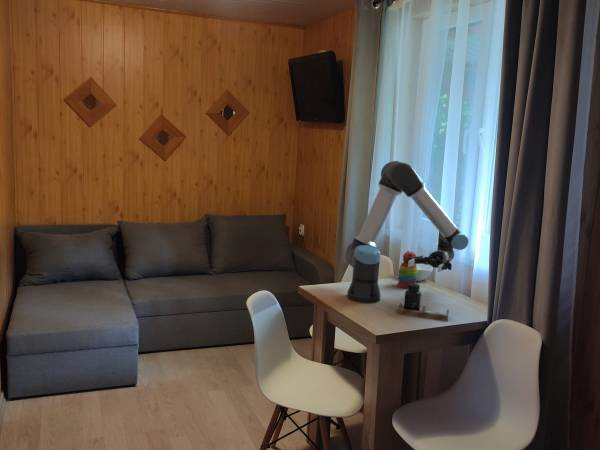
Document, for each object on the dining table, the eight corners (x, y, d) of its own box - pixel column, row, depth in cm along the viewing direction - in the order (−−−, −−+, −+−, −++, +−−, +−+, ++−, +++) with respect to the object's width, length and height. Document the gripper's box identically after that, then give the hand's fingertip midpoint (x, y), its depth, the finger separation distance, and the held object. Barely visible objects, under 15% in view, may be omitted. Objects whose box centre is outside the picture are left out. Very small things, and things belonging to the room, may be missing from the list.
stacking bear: (419, 290, 290) (423, 254, 287) (398, 288, 290) (402, 253, 287) (415, 284, 300) (418, 250, 297) (395, 283, 300) (398, 248, 297)
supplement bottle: (415, 315, 248) (418, 287, 246) (400, 311, 252) (403, 284, 250) (421, 311, 254) (424, 284, 252) (406, 308, 258) (409, 281, 256)
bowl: (431, 284, 302) (433, 271, 301) (400, 281, 305) (401, 267, 304) (431, 277, 318) (432, 264, 317) (401, 274, 321) (402, 261, 320)
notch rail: (397, 313, 249) (397, 308, 249) (399, 307, 258) (399, 302, 258) (447, 320, 244) (448, 316, 244) (448, 314, 253) (448, 309, 253)
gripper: (464, 270, 271) (450, 279, 253) (412, 262, 283) (396, 270, 265) (465, 254, 270) (452, 262, 252) (413, 247, 282) (397, 253, 264)
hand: (423, 266), depth 258 cm, fingers open, 13 cm apart
